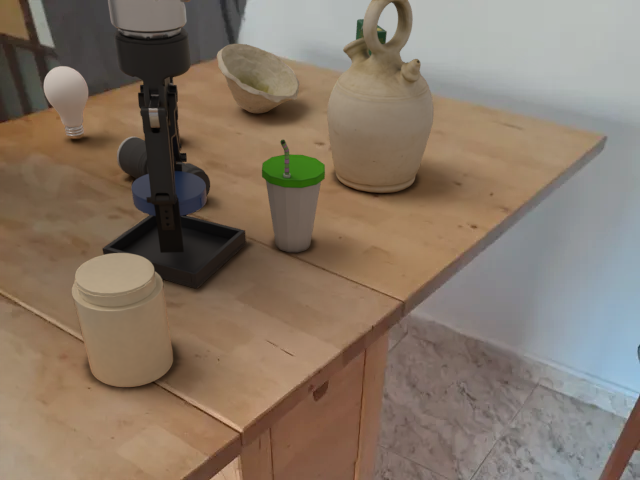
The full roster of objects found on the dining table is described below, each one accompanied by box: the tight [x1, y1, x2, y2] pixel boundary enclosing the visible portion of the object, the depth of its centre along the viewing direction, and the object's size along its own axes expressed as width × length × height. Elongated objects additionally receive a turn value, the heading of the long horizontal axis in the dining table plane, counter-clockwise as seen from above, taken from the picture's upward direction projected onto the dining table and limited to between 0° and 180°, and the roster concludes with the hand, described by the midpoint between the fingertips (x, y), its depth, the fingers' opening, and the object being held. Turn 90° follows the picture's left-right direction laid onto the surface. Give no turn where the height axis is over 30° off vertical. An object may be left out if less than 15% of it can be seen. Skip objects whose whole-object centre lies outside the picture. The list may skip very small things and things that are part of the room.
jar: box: [71, 253, 174, 388], centre depth 67 cm, size 8×8×10 cm
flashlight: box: [116, 136, 211, 197], centre depth 99 cm, size 15×5×5 cm, turn 48°
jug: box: [326, 0, 434, 194], centre depth 98 cm, size 15×16×25 cm
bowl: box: [216, 43, 300, 114], centre depth 123 cm, size 15×14×10 cm
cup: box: [261, 139, 326, 253], centre depth 85 cm, size 8×8×15 cm
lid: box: [130, 171, 208, 216], centre depth 82 cm, size 9×9×2 cm
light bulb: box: [43, 65, 89, 141], centre depth 110 cm, size 7×7×11 cm
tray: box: [102, 214, 247, 290], centre depth 87 cm, size 13×12×2 cm
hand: (174, 232), depth 85 cm, fingers closed on lid, 9 cm apart
